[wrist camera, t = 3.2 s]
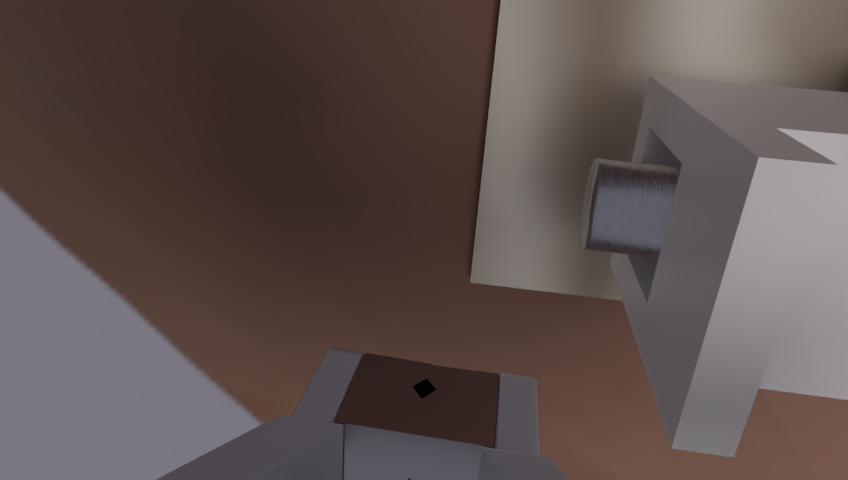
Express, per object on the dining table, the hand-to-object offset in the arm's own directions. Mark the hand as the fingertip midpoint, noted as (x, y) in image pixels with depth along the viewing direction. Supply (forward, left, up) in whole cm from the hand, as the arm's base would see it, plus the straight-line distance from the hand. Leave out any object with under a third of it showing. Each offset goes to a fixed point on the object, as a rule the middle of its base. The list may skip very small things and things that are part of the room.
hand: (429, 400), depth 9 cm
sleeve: (+8, 0, -11) cm, 14 cm away
